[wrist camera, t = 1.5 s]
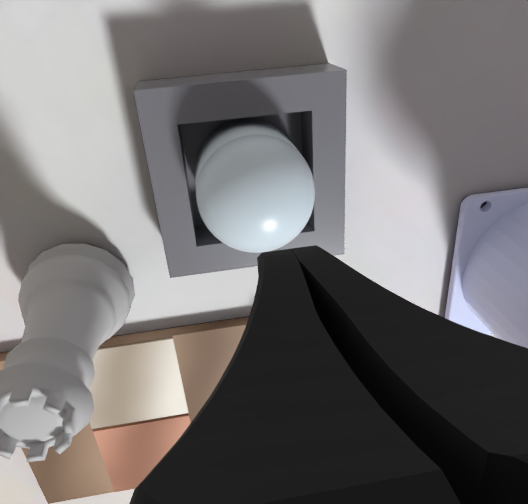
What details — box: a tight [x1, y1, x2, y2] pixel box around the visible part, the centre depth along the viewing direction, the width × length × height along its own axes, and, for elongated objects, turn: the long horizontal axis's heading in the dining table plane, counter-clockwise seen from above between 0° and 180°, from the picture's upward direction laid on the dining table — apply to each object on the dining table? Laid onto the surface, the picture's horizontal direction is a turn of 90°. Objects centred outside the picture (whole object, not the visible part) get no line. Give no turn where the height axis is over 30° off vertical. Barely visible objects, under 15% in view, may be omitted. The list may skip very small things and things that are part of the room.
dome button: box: [195, 119, 315, 253], centre depth 16 cm, size 4×4×4 cm
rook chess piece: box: [0, 243, 135, 462], centre depth 17 cm, size 4×4×8 cm
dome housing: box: [133, 63, 347, 278], centre depth 18 cm, size 7×7×2 cm
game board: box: [0, 317, 249, 504], centre depth 24 cm, size 18×10×1 cm, turn 94°
